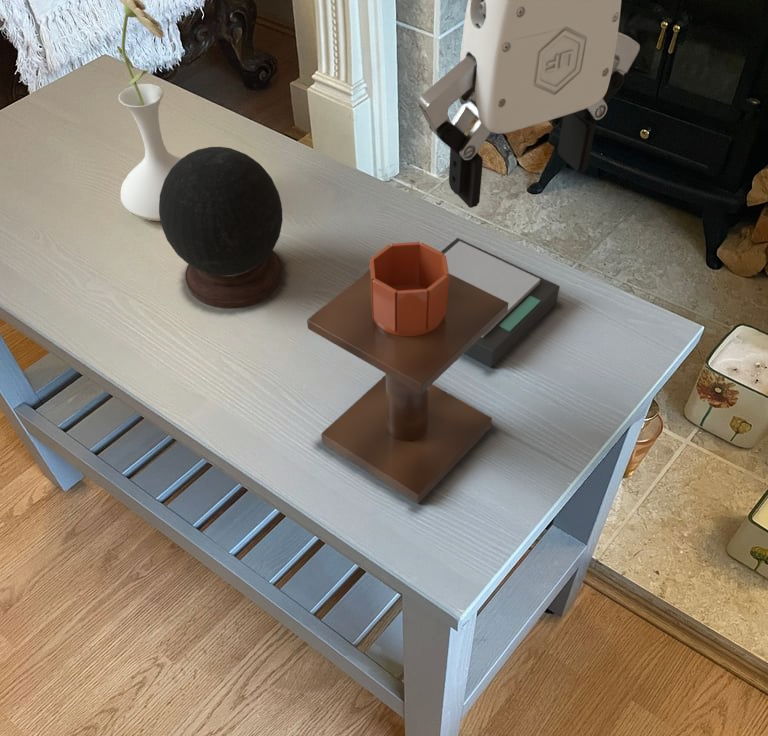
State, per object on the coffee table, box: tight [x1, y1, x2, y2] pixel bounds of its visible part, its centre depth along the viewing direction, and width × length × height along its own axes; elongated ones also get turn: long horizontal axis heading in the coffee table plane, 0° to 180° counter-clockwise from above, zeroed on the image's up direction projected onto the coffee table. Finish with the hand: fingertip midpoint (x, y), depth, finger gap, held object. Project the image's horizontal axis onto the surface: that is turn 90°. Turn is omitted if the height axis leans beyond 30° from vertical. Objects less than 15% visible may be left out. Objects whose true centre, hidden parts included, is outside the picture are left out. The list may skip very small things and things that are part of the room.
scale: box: [440, 237, 561, 369], centre depth 89 cm, size 14×13×3 cm
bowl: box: [368, 241, 449, 336], centre depth 65 cm, size 6×6×4 cm
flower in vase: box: [116, 0, 183, 222], centre depth 93 cm, size 13×11×25 cm
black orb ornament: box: [159, 146, 284, 309], centre depth 88 cm, size 13×13×15 cm
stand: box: [306, 268, 509, 505], centre depth 73 cm, size 12×12×16 cm
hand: (519, 179), depth 62 cm, fingers open, 9 cm apart
